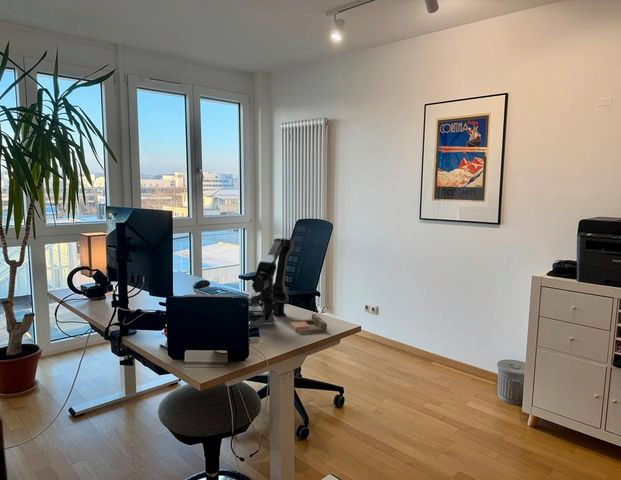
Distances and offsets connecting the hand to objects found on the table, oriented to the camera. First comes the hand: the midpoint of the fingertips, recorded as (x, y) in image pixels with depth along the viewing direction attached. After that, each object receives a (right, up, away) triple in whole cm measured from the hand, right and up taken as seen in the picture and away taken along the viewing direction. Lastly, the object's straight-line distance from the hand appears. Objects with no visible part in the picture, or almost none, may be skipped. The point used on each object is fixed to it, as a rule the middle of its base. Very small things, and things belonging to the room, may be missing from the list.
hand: (265, 319), depth 203 cm
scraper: (-3, -2, -1) cm, 3 cm away
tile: (+16, -4, -4) cm, 17 cm away
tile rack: (+19, -3, -3) cm, 19 cm away
